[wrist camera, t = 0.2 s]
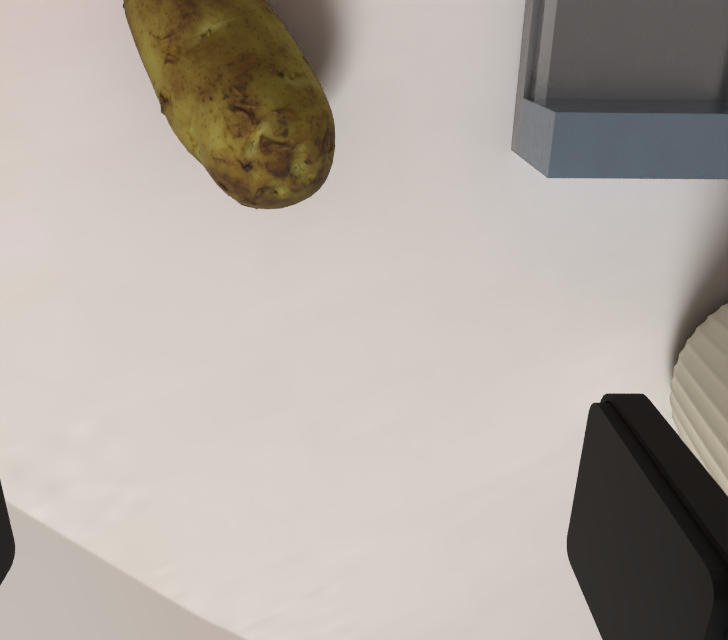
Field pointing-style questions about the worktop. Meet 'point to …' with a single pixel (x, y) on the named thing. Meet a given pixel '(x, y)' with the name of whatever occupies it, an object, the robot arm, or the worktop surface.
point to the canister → (704, 395)
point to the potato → (238, 96)
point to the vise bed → (624, 89)
